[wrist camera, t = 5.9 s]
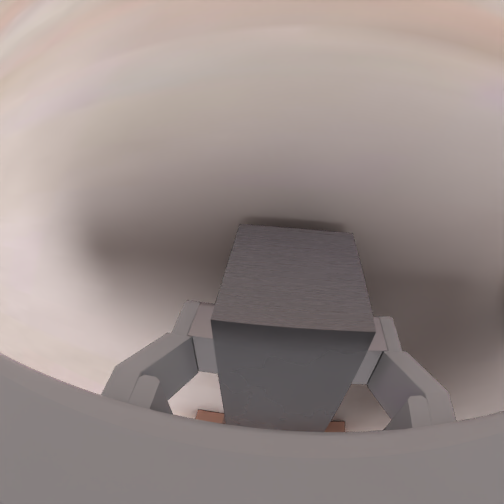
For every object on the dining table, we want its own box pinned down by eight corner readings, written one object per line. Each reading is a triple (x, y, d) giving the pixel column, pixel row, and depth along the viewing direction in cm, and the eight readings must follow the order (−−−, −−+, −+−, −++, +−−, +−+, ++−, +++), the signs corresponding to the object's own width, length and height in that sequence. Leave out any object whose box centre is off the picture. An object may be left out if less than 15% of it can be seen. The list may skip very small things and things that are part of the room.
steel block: (353, 233, 10) (379, 337, 7) (295, 431, 21) (291, 484, 17) (238, 224, 11) (206, 324, 7) (243, 426, 21) (235, 479, 17)
